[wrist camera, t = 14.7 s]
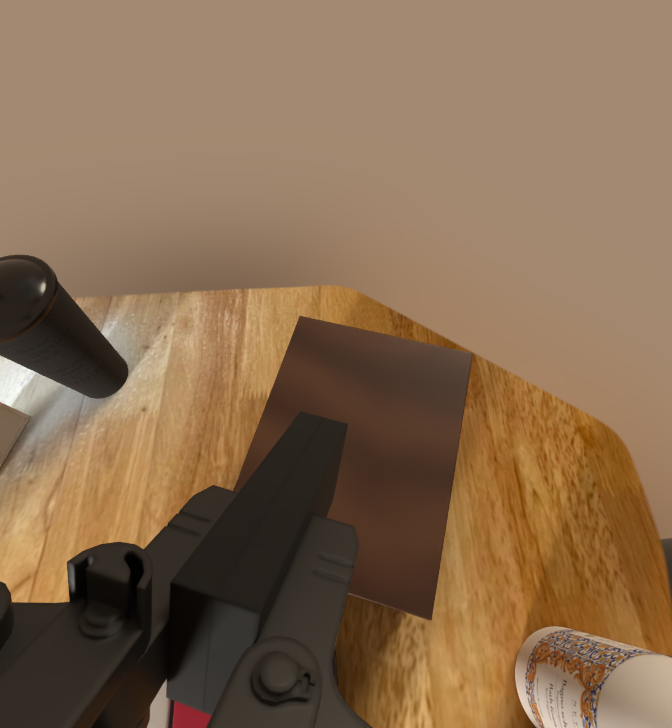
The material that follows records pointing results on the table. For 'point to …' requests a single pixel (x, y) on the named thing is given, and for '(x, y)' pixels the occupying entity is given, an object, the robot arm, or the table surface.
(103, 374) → the drinking cup
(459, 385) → the chest lid
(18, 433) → the gravestone
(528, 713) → the bath foam
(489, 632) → the table surface
